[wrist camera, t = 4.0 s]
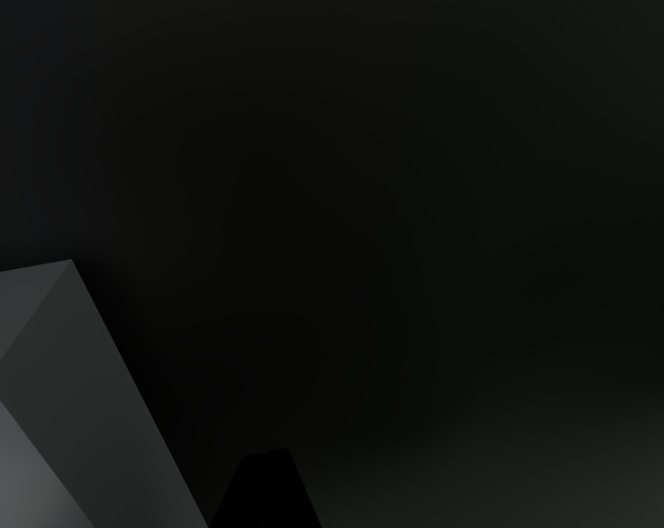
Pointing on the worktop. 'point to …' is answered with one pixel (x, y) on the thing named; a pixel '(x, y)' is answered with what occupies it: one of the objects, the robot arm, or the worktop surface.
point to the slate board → (76, 417)
